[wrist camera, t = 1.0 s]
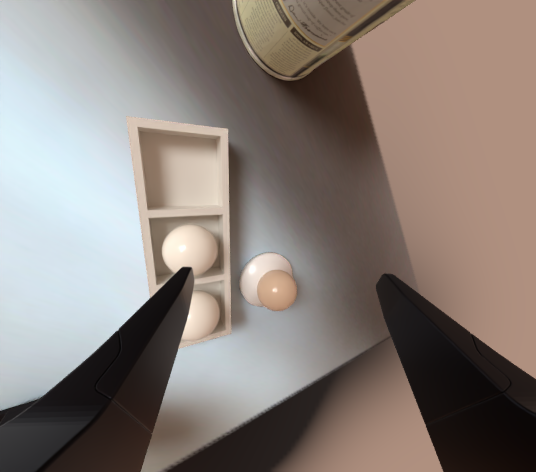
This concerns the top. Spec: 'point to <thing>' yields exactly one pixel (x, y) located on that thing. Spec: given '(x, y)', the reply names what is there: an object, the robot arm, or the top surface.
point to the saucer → (260, 274)
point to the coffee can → (306, 30)
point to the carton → (183, 200)
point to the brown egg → (277, 290)
